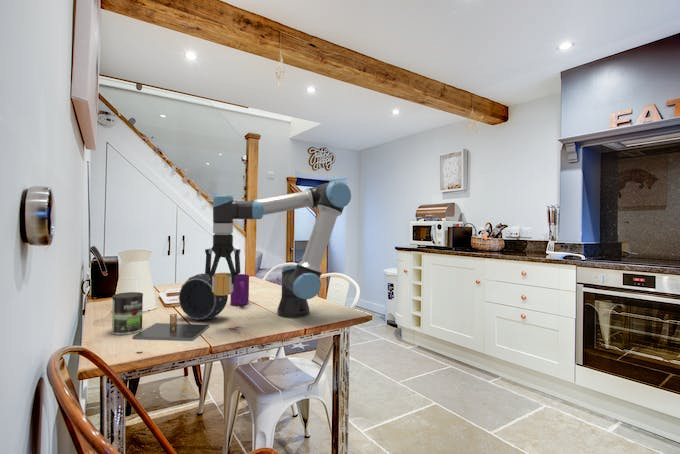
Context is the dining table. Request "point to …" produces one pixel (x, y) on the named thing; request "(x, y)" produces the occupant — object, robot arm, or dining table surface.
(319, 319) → the dining table surface
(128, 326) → the coffee can
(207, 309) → the studded dark pot
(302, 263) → the robot arm
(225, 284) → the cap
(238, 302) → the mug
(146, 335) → the plate
